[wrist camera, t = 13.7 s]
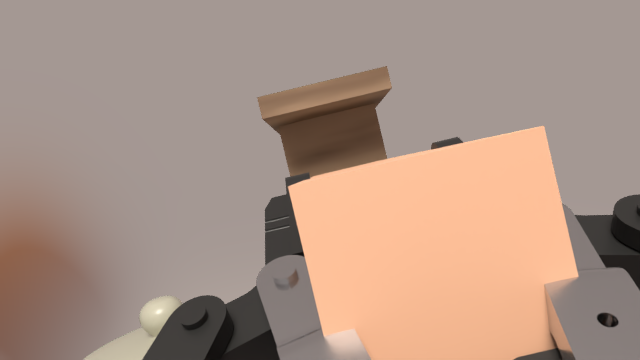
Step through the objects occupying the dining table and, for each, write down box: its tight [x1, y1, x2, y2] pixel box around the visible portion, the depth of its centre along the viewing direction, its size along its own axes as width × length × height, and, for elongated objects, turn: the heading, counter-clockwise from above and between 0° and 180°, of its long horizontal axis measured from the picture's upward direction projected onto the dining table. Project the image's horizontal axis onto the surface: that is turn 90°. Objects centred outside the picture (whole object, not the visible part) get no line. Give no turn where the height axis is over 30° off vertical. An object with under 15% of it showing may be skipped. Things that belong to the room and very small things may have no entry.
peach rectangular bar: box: [288, 126, 578, 360], centre depth 17 cm, size 21×4×4 cm, turn 0°
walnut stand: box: [258, 66, 392, 177], centre depth 36 cm, size 13×9×34 cm
